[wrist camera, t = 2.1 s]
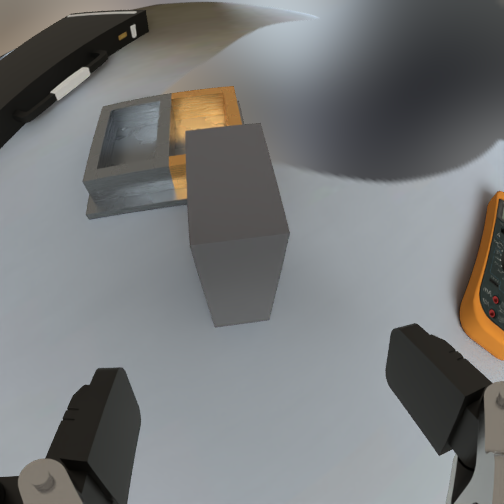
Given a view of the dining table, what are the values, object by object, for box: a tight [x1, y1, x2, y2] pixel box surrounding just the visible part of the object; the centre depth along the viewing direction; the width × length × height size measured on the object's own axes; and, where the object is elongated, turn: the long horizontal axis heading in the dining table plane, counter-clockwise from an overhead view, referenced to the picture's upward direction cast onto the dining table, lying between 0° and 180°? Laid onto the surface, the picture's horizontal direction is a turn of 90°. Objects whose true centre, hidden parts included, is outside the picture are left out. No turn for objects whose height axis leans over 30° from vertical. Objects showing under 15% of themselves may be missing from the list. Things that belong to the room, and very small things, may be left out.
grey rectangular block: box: [185, 123, 290, 327], centre depth 20 cm, size 7×4×12 cm, turn 9°
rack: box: [83, 86, 244, 219], centre depth 30 cm, size 14×16×4 cm
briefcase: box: [0, 10, 149, 149], centre depth 39 cm, size 45×6×30 cm
